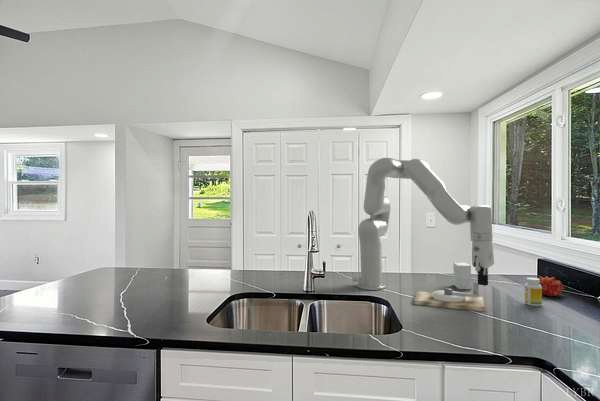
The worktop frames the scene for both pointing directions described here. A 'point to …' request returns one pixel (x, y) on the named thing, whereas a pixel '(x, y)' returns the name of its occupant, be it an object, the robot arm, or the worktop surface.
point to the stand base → (468, 304)
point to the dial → (454, 294)
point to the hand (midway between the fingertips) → (483, 284)
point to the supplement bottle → (533, 292)
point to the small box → (462, 275)
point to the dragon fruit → (550, 286)
